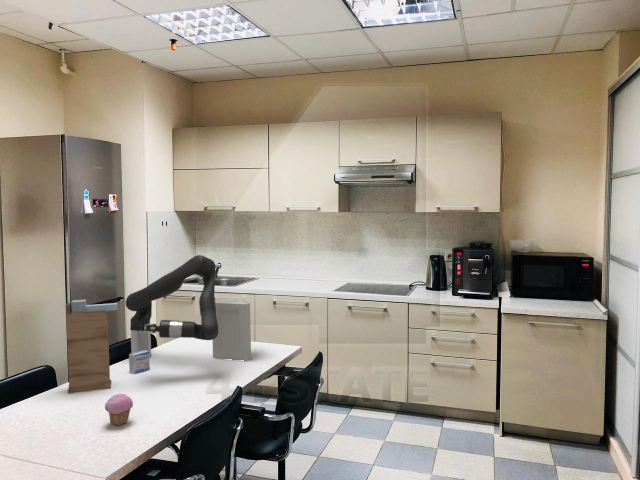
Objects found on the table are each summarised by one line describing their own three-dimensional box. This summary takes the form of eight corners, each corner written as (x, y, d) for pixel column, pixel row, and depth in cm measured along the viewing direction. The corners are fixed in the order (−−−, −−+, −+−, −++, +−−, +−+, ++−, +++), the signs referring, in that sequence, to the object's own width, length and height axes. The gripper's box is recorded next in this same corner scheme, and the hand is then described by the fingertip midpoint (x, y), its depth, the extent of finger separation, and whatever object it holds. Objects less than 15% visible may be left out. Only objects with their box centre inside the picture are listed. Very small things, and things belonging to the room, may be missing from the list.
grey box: (260, 353, 255) (259, 298, 254) (247, 361, 241) (246, 304, 240) (226, 350, 261) (225, 297, 260) (212, 358, 247) (210, 302, 245)
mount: (69, 387, 208) (66, 302, 205) (111, 382, 213) (108, 299, 211) (67, 393, 201) (64, 305, 199) (110, 388, 207) (107, 302, 204)
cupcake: (125, 416, 178) (124, 388, 178) (138, 422, 173) (137, 394, 172) (100, 424, 171) (99, 395, 171) (113, 431, 166) (112, 401, 165)
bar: (73, 311, 206) (72, 300, 205) (117, 308, 211) (117, 297, 211) (71, 314, 201) (71, 302, 201) (117, 310, 207) (116, 299, 207)
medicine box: (134, 374, 224) (134, 355, 224) (129, 372, 227) (128, 353, 227) (150, 369, 231) (149, 351, 230) (144, 368, 233) (143, 349, 233)
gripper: (174, 320, 224) (136, 319, 221) (170, 319, 210) (129, 318, 208) (172, 337, 222) (134, 336, 220) (168, 337, 209) (128, 336, 206)
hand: (132, 327), depth 214 cm, fingers open, 8 cm apart
